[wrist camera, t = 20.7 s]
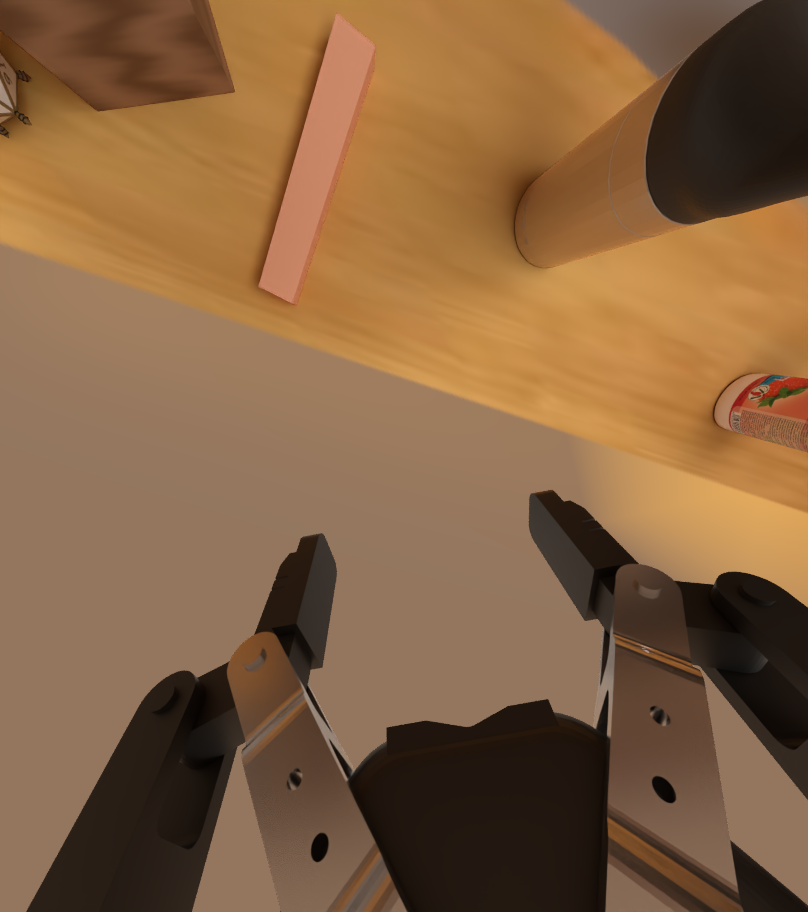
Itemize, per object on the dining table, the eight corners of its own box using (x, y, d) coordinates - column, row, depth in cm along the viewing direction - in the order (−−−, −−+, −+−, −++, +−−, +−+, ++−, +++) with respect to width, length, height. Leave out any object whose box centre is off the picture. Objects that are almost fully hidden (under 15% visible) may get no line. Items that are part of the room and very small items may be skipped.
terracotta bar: (373, 72, 28) (375, 45, 25) (297, 305, 35) (291, 303, 32) (338, 44, 27) (336, 12, 24) (266, 289, 34) (258, 286, 31)
